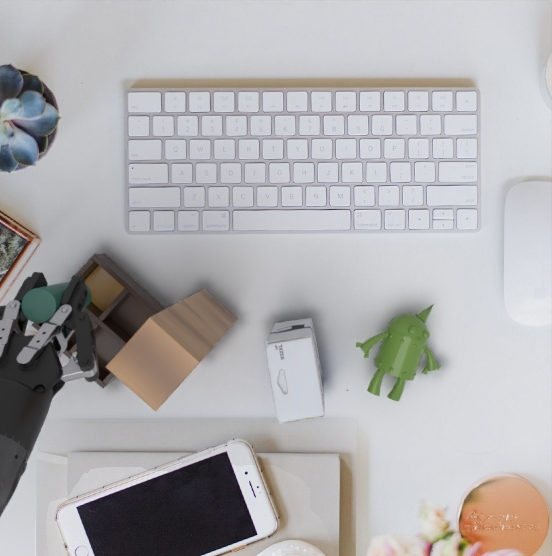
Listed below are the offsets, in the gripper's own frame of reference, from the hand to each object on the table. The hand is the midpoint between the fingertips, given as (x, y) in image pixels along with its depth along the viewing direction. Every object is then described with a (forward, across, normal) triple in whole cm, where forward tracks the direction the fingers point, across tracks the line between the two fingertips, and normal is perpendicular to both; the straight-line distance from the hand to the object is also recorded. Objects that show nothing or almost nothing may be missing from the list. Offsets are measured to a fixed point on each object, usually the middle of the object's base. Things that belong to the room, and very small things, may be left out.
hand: (60, 279), depth 55 cm
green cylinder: (+1, 0, +4) cm, 4 cm away
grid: (+5, 0, +13) cm, 14 cm away
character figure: (+5, -35, +13) cm, 38 cm away
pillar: (+5, -12, +13) cm, 18 cm away
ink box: (+4, -24, +15) cm, 28 cm away
